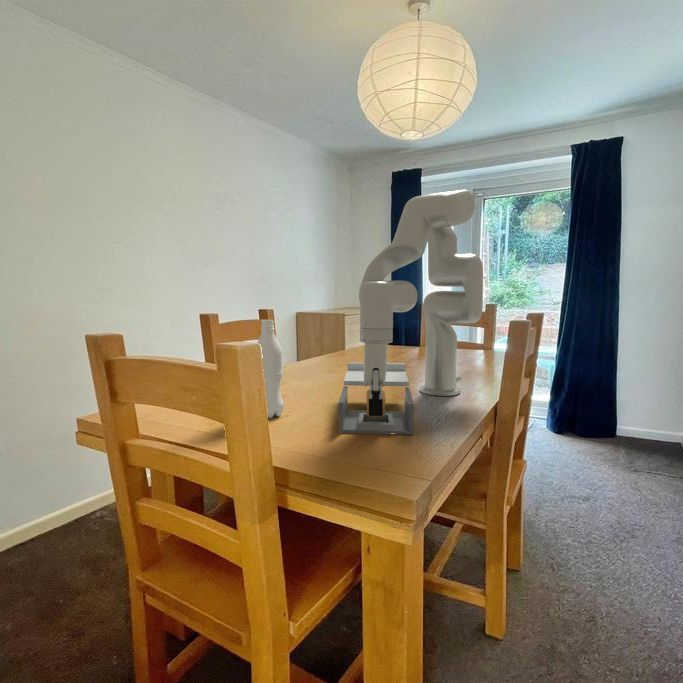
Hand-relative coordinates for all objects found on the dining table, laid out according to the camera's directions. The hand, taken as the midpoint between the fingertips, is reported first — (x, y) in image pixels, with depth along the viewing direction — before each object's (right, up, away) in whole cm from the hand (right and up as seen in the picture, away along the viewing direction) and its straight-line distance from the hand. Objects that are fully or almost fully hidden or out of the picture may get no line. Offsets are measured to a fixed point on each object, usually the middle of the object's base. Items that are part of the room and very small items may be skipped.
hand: (375, 411), depth 97 cm
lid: (+2, +6, +18) cm, 19 cm away
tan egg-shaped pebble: (0, -1, 0) cm, 1 cm away
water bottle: (-27, -3, +11) cm, 29 cm away
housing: (0, -4, +4) cm, 5 cm away
